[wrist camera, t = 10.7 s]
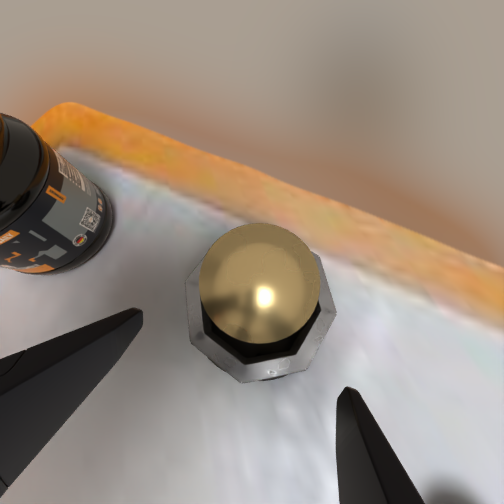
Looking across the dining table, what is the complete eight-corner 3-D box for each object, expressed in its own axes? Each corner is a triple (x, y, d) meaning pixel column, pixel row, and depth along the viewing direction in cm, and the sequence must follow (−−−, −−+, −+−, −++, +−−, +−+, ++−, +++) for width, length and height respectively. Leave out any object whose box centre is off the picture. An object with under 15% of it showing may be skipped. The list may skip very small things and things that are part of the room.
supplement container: (-9, 255, 21) (-318, 175, 10) (59, 174, 24) (-116, 41, 13) (77, 295, 20) (-170, 254, 8) (137, 202, 23) (18, 81, 11)
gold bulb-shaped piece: (251, 352, 17) (243, 386, 7) (213, 295, 18) (167, 264, 9) (304, 309, 18) (357, 291, 8) (264, 258, 19) (270, 196, 10)
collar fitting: (198, 392, 17) (182, 410, 13) (186, 252, 21) (171, 236, 17) (344, 362, 17) (367, 371, 14) (305, 230, 21) (315, 211, 18)
